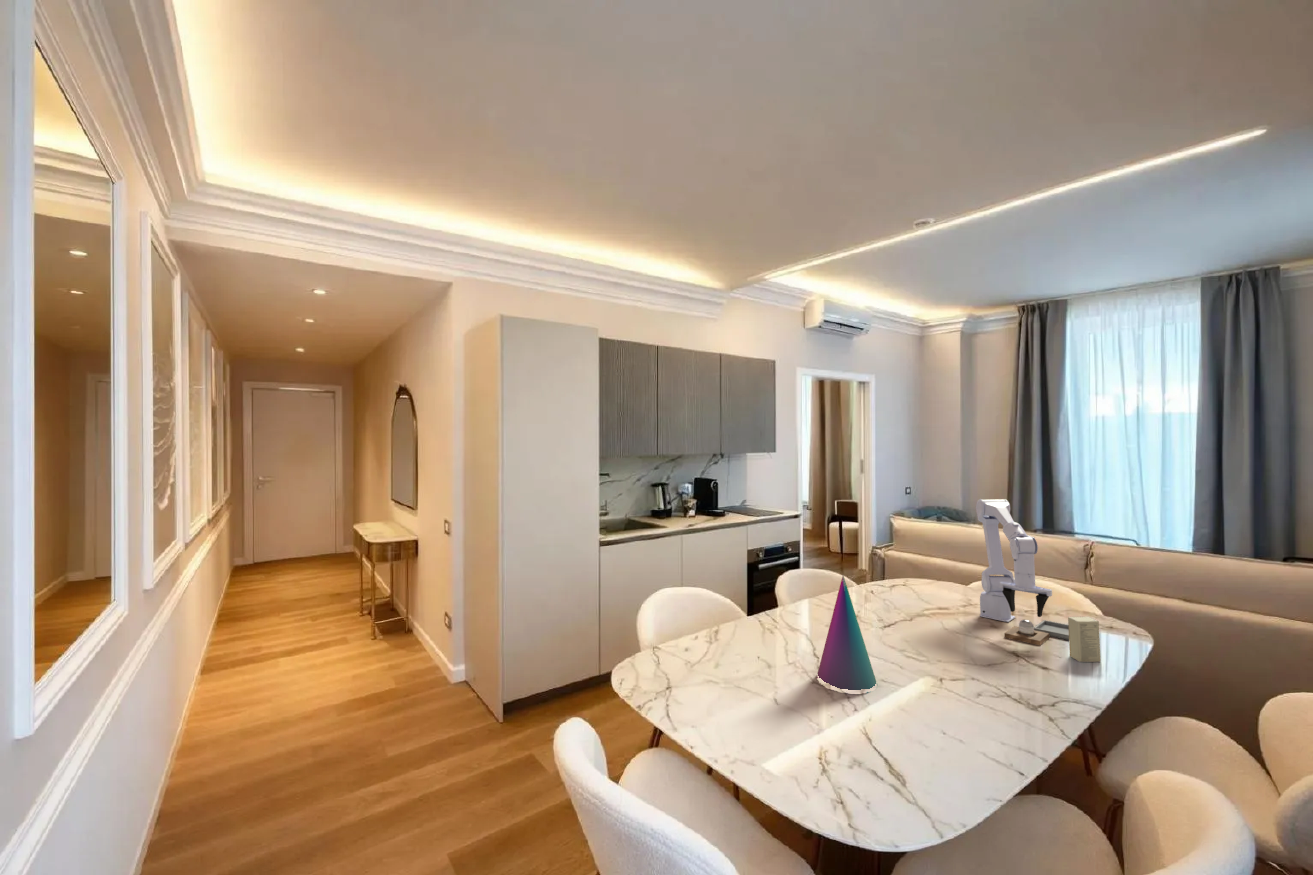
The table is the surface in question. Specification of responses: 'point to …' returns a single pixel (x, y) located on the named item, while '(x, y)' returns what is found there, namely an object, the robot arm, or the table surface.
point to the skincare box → (1084, 639)
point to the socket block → (1037, 639)
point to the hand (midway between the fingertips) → (1026, 613)
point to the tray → (1053, 629)
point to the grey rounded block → (1026, 628)
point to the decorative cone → (845, 648)
